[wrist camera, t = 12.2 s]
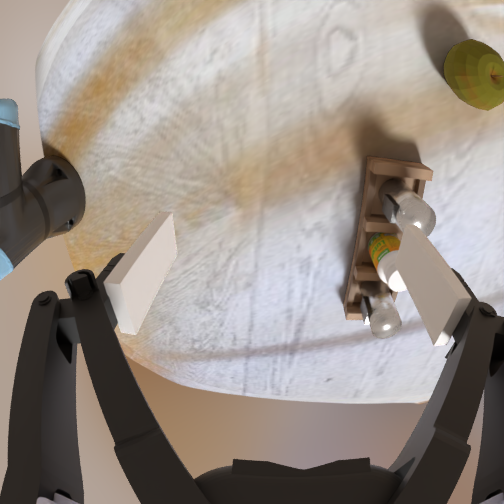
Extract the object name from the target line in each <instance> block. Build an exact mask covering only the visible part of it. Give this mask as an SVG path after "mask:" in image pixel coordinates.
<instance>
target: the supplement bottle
mask: <svg viewBox="0 0 504 504" xmlns="http://www.w3.org/2000/svg"><path fill="white" fill-rule="evenodd" d="M400 244H401V241H400V240H399V238H398V237H397V235H396V234H395V233H382V232H377V233H375V234H374V235H373V236H372V237H371V238H370V240H369V243H368V251H369V254H370V256H371V259H372V261H373V263H374V266H375V268H376V270H377V273H378V275H379V277H380V279H381V280H382V281H383V282H385V283H387V284H388V286H389V288H390V289H391V290H393V291H396V292H401V291H404V290H406V289H407V287H406V285H405V284H404V282H403V280H402V278H401V276H400V274H399V272H398V270H397V268H396V267H395V261H396V258H397V255H398V251H399V247H400Z"/></svg>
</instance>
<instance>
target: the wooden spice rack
mask: <svg viewBox="0 0 504 504" xmlns="http://www.w3.org/2000/svg"><path fill="white" fill-rule="evenodd" d="M432 176H433V170H431V169H430V168H428V167H427V166H425V165H423V164H422V163H416V162H409V161H402V160H395V159H387V158H379V157H370V156H367V166H366V175H365V183H364V191H363V199H362V206H361V213H360V219H359V226H358V232H357V238H356V244H355V249H354V255H353V260H352V265H351V271H350V276H349V280H348V285H347V290H346V295H345V299H344V303H343V306H344V311H345V316H346V320H363V317H362V313H361V309H360V305H361V302H362V295H361V291H360V287H361V284H362V282H363V281H382V280H381V279H380V277H379V275H378V273H377V270H376V268H375V266H374V263H373V261H372V259H371V256H370V254H369V251H368V243H369V240H370V238H371V237H372V236H373V235H374V234H375V233H377V232H382V233H395V234H396V235H397V237H398V238H399V240H400V241H401V240H402V236H403V232H402V231H401V230H400V228H399V227H398V225H397V224H396V223H390V222H389V220H388V219H387V217H386V216H385V214H384V213H383V212H382V204H381V202H380V200H379V189H380V187H381V185H382V184H383V183H384V182H385V181H387V180H389V179H392V178H396V179H400V180H402V181H403V182H404V183H405V184H406V185H407V186H408V187H410V188H411V189H412V190H413V191H414V192H415V193H416V194H417V195H418V196H419V197H420V198H421V199H422V198H423V193H424V188H425V182H426V180H428V181H432ZM386 284H387V283H386ZM387 286H388V284H387ZM388 289H389V291H390V293H391V296H392V298H393V301H394V302H395V299H396V296H397V293H398V292H396V291H393V290H391V289H390V288H389V286H388Z"/></svg>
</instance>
